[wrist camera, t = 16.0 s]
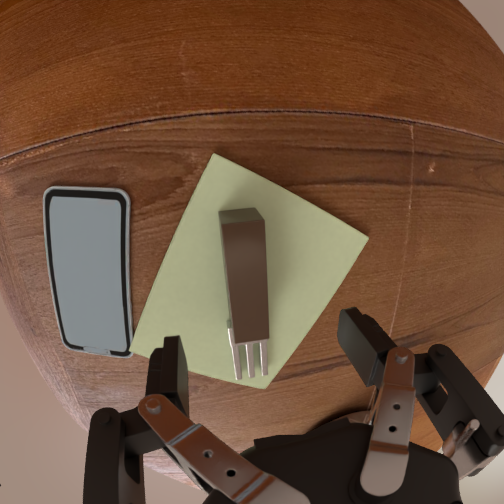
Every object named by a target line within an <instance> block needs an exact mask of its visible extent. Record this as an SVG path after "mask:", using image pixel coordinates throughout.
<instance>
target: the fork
mask: <svg viewBox="0 0 504 504" xmlns="http://www.w3.org/2000/svg"><path fill="white" fill-rule="evenodd" d="M218 217H219V227H220V237H221V246H222V256H223V265H224V274H225V283H226V292H227V300H228V308H229V317H230V320H227V321H226V322H227V330H228V337H229V343H230V347H231V350H232V357H233V364H234V371H235V377H236V380H240V379H242V371H241V363H240V355H239V346H241V345H245V353H246V363H247V372H248V376H249V378H253V377H255V367H254V354H253V344H254V343H258V346H259V362H260V371H261V375H262V376H265V375H268V359H267V341H268V339H269V338H270V336H269V307H268V281H267V256H266V233H265V220H264V218H263V217H262V216H261V214H260V213H259V212H258V210H257V209H256V208H255V207H253V208H243V209H233V210H224V211H218Z"/></svg>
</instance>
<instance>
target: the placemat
mask: <svg viewBox="0 0 504 504" xmlns="http://www.w3.org/2000/svg"><path fill="white" fill-rule="evenodd" d="M253 207H255V208H256V209H257V210H258V212H259V213H260V214H261V216H262V217H263V218H264V220H265V233H266V256H267V281H268V307H269V336H270V338H269V339H268V341H267V359H268V375H265V376H262V375H261V371H260V362H259V346H258V343H254V344H253V354H254V367H255V377H253V378H249V376H248V372H247V363H246V353H245V345H241V346H239V355H240V363H241V371H242V379H240V380H236V377H235V371H234V364H233V357H232V350H231V347H230V343H229V337H228V330H227V322H226V321H227V320H230V317H229V308H228V300H227V292H226V283H225V274H224V265H223V256H222V246H221V237H220V227H219V217H218V211H224V210H233V209H243V208H253ZM368 239H369V237H368V236H366V235H365V234H363V233H361V232H360V231H358V230H356V229H355V228H353V227H351V226H350V225H348V224H346V223H345V222H343V221H341V220H340V219H338V218H336V217H334V216H333V215H331V214H329V213H328V212H326V211H324V210H322V209H321V208H319V207H317V206H315V205H314V204H312V203H310V202H308V201H306V200H305V199H303V198H301V197H299V196H297V195H296V194H294V193H292V192H290V191H288V190H286V189H284V188H283V187H281V186H279V185H277V184H275V183H273V182H271V181H269V180H267V179H266V178H264V177H262V176H260V175H258V174H256V173H254V172H252V171H250V170H248V169H246V168H244V167H242V166H240V165H238V164H236V163H234V162H232V161H230V160H228V159H226V158H224V157H222V156H220V155H217V154H215V153H213V154H212V156H211V158H210V160H209V162H208V164H207V166H206V168H205V170H204V172H203V174H202V176H201V178H200V180H199V182H198V184H197V186H196V188H195V190H194V193H193V195H192V197H191V199H190V201H189V203H188V205H187V207H186V209H185V212H184V214H183V216H182V218H181V220H180V223H179V225H178V227H177V229H176V231H175V234H174V236H173V238H172V241H171V243H170V245H169V247H168V250H167V252H166V254H165V257H164V259H163V262H162V264H161V266H160V269H159V271H158V274H157V276H156V279H155V281H154V283H153V286H152V288H151V291H150V294H149V296H148V299H147V301H146V304H145V307H144V309H143V312H142V314H141V317H140V320H139V323H138V325H137V328H136V331H135V334H134V336H133V340H132V343H131V346H130V349H129V351H130V352H133V353H136V354H138V355H141V356H144V357H147V358H150V355H151V354H152V352H153V351H154V349H155V348H161V347H163V343H164V337H166V336H176V335H180V337H181V341H182V345H183V349H184V352H185V356H186V360H187V366H188V371H191V372H195V373H198V374H202V375H206V376H209V377H213V378H217V379H221V380H225V381H229V382H233V383H237V384H242V385H246V386H251V387H255V388H260V389H265V388H266V387H267V386H268V385H269V383H270V382H271V381H272V380H273V378H274V377H275V376H276V374H277V373H278V372H279V371H280V369H281V368H282V367H283V365H284V364H285V363H286V361H287V360H288V359H289V357H290V356H291V355H292V353H293V352H294V351H295V349H296V348H297V347H298V345H299V344H300V343H301V341H302V340H303V338H304V337H305V336H306V334H307V333H308V331H309V330H310V329H311V327H312V326H313V324H314V323H315V322H316V320H317V319H318V317H319V316H320V314H321V313H322V311H323V310H324V308H325V307H326V305H327V304H328V302H329V301H330V299H331V298H332V296H333V295H334V293H335V292H336V290H337V289H338V287H339V286H340V284H341V283H342V281H343V280H344V278H345V276H346V275H347V273H348V272H349V270H350V269H351V267H352V265H353V264H354V262H355V260H356V259H357V257H358V256H359V254H360V252H361V251H362V249H363V247H364V246H365V244H366V242H367V241H368Z"/></svg>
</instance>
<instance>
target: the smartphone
mask: <svg viewBox="0 0 504 504" xmlns="http://www.w3.org/2000/svg"><path fill="white" fill-rule="evenodd" d="M130 207H131V201H130V198H129V195H128V194H127V193H126V192H125V191H124V190H122V189H119V188H104V187H103V188H101V187H81V186H79V187H78V186H52V187H50V188H48V189H47V190H46V191H45V193H44V195H43V220H44V236H45V247H46V257H47V266H48V273H49V280H50V287H51V293H52V298H53V304H54V309H55V314H56V319H57V323H58V328H59V332H60V336H61V340H62V343H63V344H64V345H65V346H66V347H67V348H68V349H70V350H73V351H79V352H85V353H91V354H97V355H104V356H111V357H119V358H129V357H131V356H132V355H133V352H130V351H129V349H130V346H131V343H132V340H133V326H132V325H133V321H132V304H131V294H130Z"/></svg>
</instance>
